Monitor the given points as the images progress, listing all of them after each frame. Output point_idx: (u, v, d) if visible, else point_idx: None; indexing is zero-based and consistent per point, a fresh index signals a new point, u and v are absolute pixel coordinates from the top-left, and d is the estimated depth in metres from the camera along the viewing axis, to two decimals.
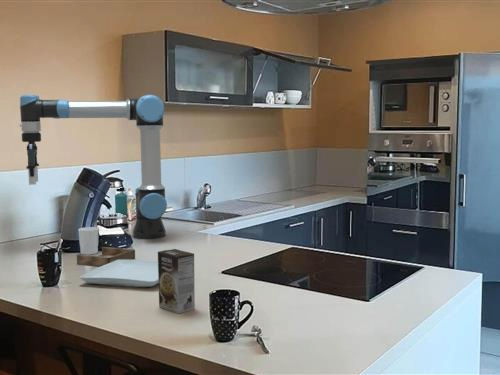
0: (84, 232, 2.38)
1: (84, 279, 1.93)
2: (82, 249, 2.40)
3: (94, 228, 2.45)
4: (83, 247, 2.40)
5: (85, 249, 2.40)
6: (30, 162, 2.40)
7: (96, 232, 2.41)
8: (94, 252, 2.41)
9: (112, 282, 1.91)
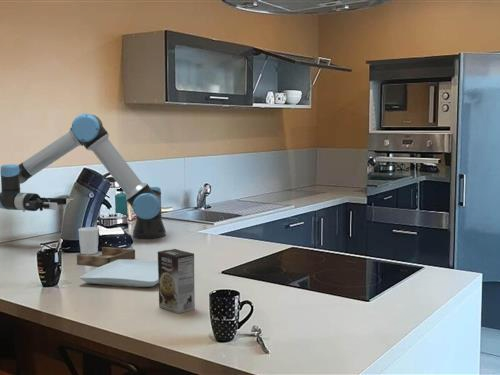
0: (84, 232, 2.38)
1: (84, 279, 1.93)
2: (82, 249, 2.40)
3: (94, 228, 2.45)
4: (83, 247, 2.40)
5: (85, 249, 2.40)
6: (34, 206, 2.40)
7: (96, 232, 2.41)
8: (94, 252, 2.41)
9: (112, 282, 1.91)
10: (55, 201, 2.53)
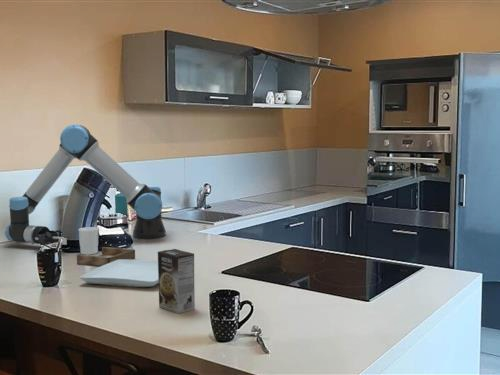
0: (84, 232, 2.38)
1: (84, 279, 1.93)
2: (82, 249, 2.40)
3: (94, 228, 2.45)
4: (83, 247, 2.40)
5: (85, 249, 2.40)
6: (43, 241, 2.39)
7: (96, 232, 2.41)
8: (94, 252, 2.41)
9: (112, 282, 1.91)
10: None
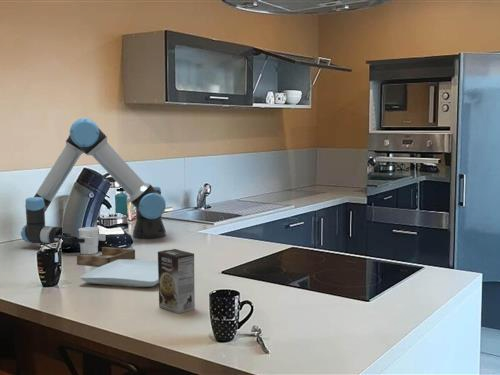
0: (84, 232, 2.38)
1: (84, 279, 1.93)
2: (82, 249, 2.40)
3: (94, 228, 2.45)
4: (83, 247, 2.40)
5: (85, 249, 2.40)
6: (68, 241, 2.38)
7: (96, 232, 2.41)
8: (94, 252, 2.41)
9: (112, 282, 1.91)
10: None
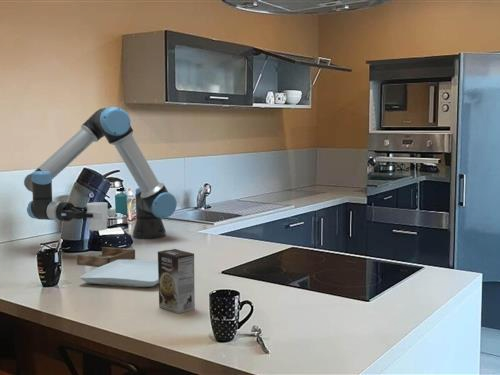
0: (92, 206, 2.24)
1: (84, 279, 1.93)
2: (90, 225, 2.26)
3: (103, 203, 2.31)
4: (91, 223, 2.26)
5: (93, 225, 2.25)
6: (76, 216, 2.24)
7: (105, 207, 2.27)
8: (103, 228, 2.27)
9: (112, 282, 1.91)
10: None
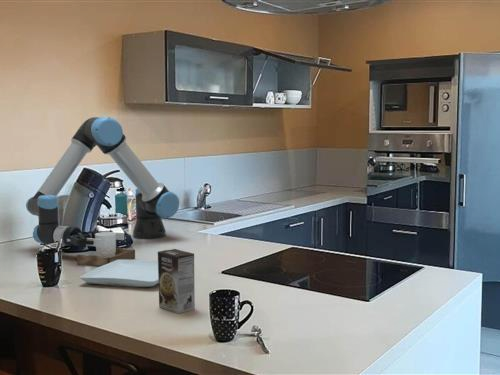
0: (101, 237, 2.23)
1: (84, 279, 1.93)
2: (99, 255, 2.25)
3: (111, 233, 2.30)
4: (100, 253, 2.24)
5: (102, 255, 2.24)
6: (76, 243, 2.20)
7: (114, 237, 2.25)
8: None
9: (112, 282, 1.91)
10: None
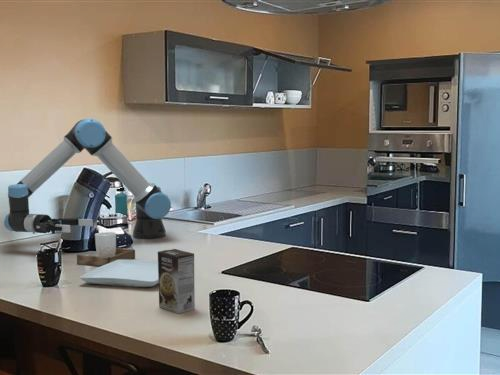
0: (101, 237, 2.23)
1: (84, 279, 1.93)
2: (99, 255, 2.25)
3: (111, 233, 2.30)
4: (100, 253, 2.24)
5: (102, 255, 2.24)
6: (45, 229, 2.27)
7: (114, 237, 2.25)
8: None
9: (112, 282, 1.91)
10: (67, 222, 2.40)
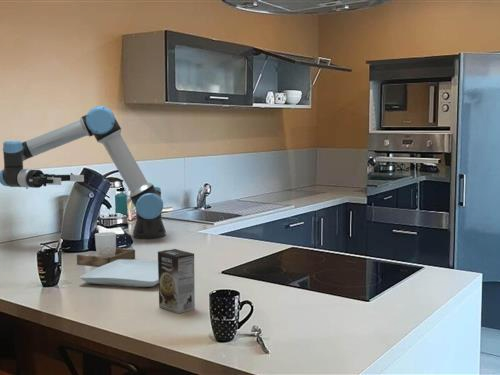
0: (101, 237, 2.23)
1: (84, 279, 1.93)
2: (99, 255, 2.25)
3: (111, 233, 2.30)
4: (100, 253, 2.24)
5: (102, 255, 2.24)
6: (37, 182, 2.35)
7: (114, 237, 2.25)
8: None
9: (112, 282, 1.91)
10: (59, 177, 2.48)
